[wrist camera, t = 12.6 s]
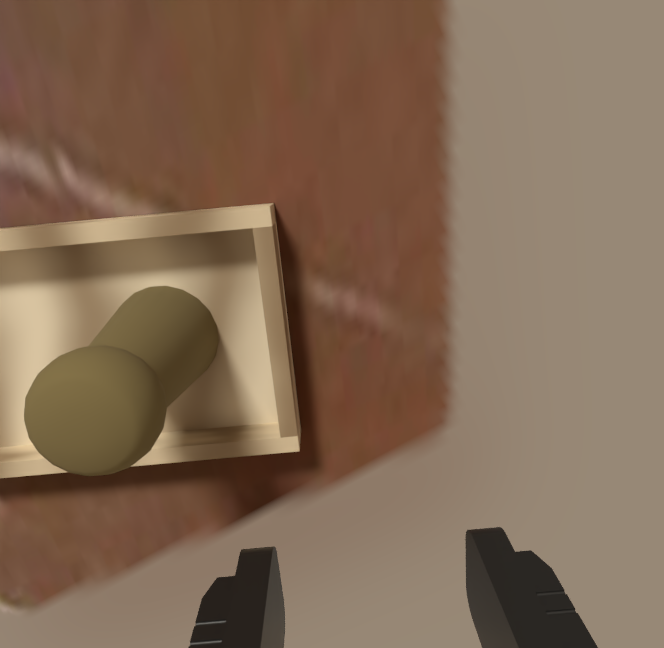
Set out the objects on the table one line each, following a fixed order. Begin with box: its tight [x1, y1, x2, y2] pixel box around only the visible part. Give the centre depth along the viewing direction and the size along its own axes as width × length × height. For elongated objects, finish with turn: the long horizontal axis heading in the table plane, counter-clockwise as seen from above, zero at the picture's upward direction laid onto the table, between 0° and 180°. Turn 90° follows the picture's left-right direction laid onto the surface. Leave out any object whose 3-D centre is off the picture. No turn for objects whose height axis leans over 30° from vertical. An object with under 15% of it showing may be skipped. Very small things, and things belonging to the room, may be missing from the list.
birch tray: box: [0, 203, 301, 478], centre depth 28 cm, size 24×14×2 cm, turn 95°
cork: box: [24, 286, 219, 476], centre depth 24 cm, size 6×6×11 cm
